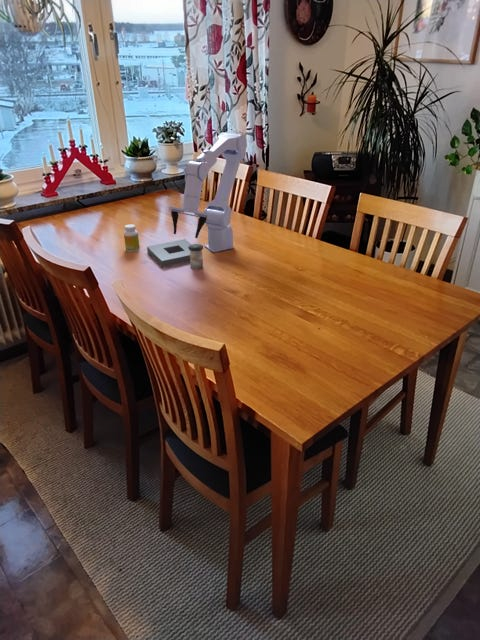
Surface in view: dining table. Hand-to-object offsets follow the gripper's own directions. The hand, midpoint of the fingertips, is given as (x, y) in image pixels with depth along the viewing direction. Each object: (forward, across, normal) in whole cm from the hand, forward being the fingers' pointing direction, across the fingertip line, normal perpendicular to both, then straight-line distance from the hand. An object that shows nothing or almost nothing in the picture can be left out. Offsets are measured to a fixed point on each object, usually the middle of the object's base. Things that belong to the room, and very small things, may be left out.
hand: (185, 236), depth 169 cm
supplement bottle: (+10, -18, +23) cm, 31 cm away
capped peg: (+10, +6, +2) cm, 12 cm away
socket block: (+9, -2, +14) cm, 17 cm away
